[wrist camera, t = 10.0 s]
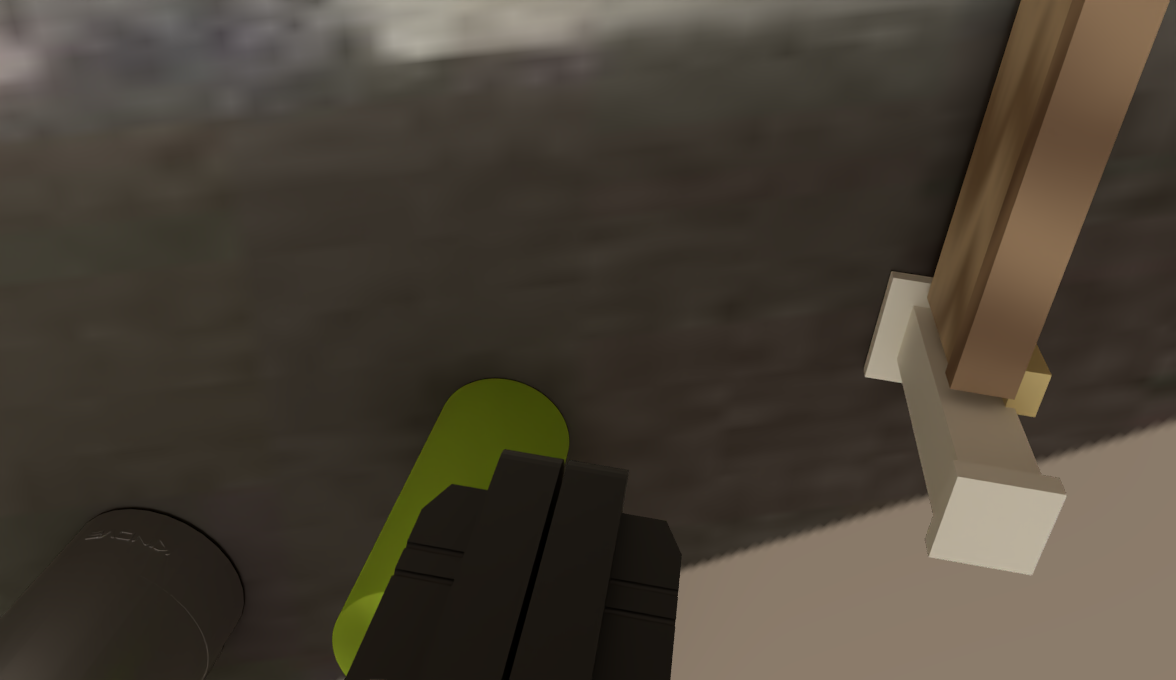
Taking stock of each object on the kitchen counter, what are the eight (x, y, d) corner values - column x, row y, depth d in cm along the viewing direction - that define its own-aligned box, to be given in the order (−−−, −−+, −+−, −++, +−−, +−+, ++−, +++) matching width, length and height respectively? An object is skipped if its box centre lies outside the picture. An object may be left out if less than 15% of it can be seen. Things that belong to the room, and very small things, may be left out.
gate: (975, 305, 37) (1014, 399, 31) (921, 296, 37) (949, 388, 32) (1136, -160, 29) (1225, -144, 24) (1066, -168, 29) (1139, -155, 24)
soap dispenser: (461, 340, 42) (257, 727, 25) (595, 427, 44) (487, 855, 26) (396, 428, 45) (173, 832, 28) (524, 509, 46) (384, 943, 29)
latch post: (974, 387, 40) (1048, 597, 30) (863, 369, 40) (898, 570, 30) (1013, 279, 37) (1107, 468, 27) (894, 261, 38) (943, 440, 28)
